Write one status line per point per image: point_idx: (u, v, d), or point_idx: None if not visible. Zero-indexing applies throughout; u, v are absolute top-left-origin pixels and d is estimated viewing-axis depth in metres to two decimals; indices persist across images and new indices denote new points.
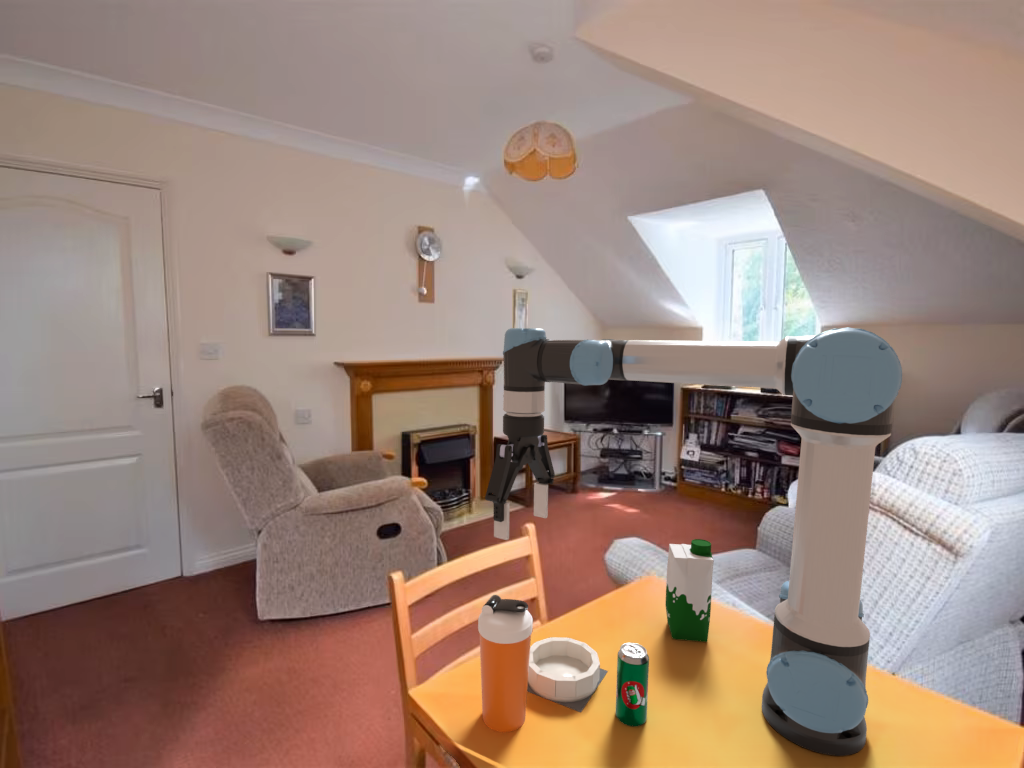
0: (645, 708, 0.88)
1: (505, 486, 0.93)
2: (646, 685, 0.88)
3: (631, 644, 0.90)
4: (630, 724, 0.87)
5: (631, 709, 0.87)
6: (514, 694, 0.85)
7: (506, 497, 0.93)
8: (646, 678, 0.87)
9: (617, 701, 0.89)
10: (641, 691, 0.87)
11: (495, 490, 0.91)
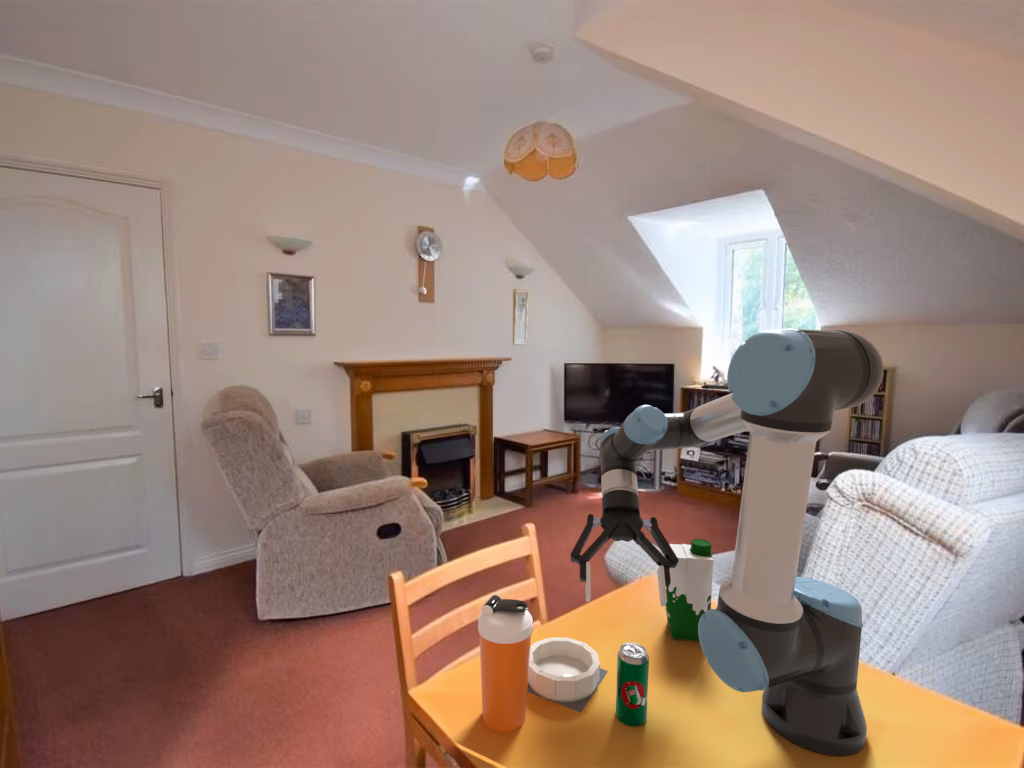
0: (645, 708, 0.88)
1: (588, 549, 1.05)
2: (646, 685, 0.88)
3: (631, 644, 0.90)
4: (630, 724, 0.87)
5: (631, 709, 0.87)
6: (514, 694, 0.85)
7: (586, 556, 1.03)
8: (646, 678, 0.87)
9: (617, 701, 0.89)
10: (641, 691, 0.87)
11: (573, 549, 1.05)
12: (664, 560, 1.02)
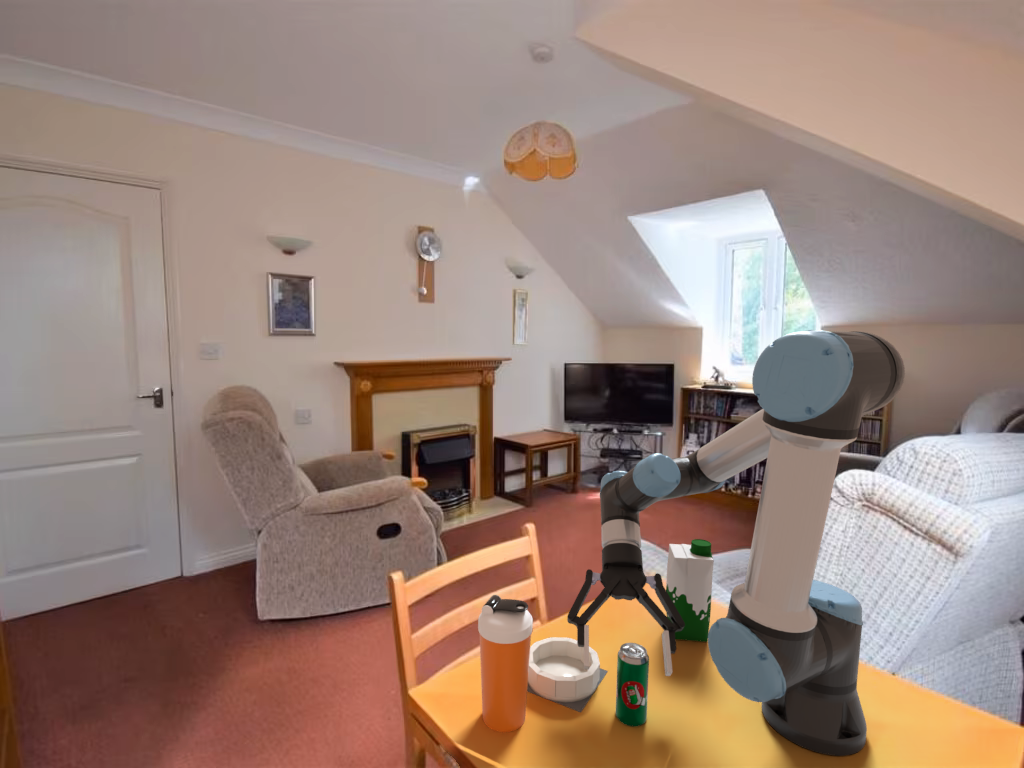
0: (645, 708, 0.88)
1: None
2: (646, 685, 0.88)
3: (631, 644, 0.90)
4: (630, 724, 0.87)
5: (631, 709, 0.87)
6: (514, 694, 0.85)
7: (584, 618, 0.95)
8: (646, 678, 0.87)
9: (617, 701, 0.89)
10: (641, 691, 0.87)
11: (571, 609, 0.97)
12: (669, 624, 0.94)
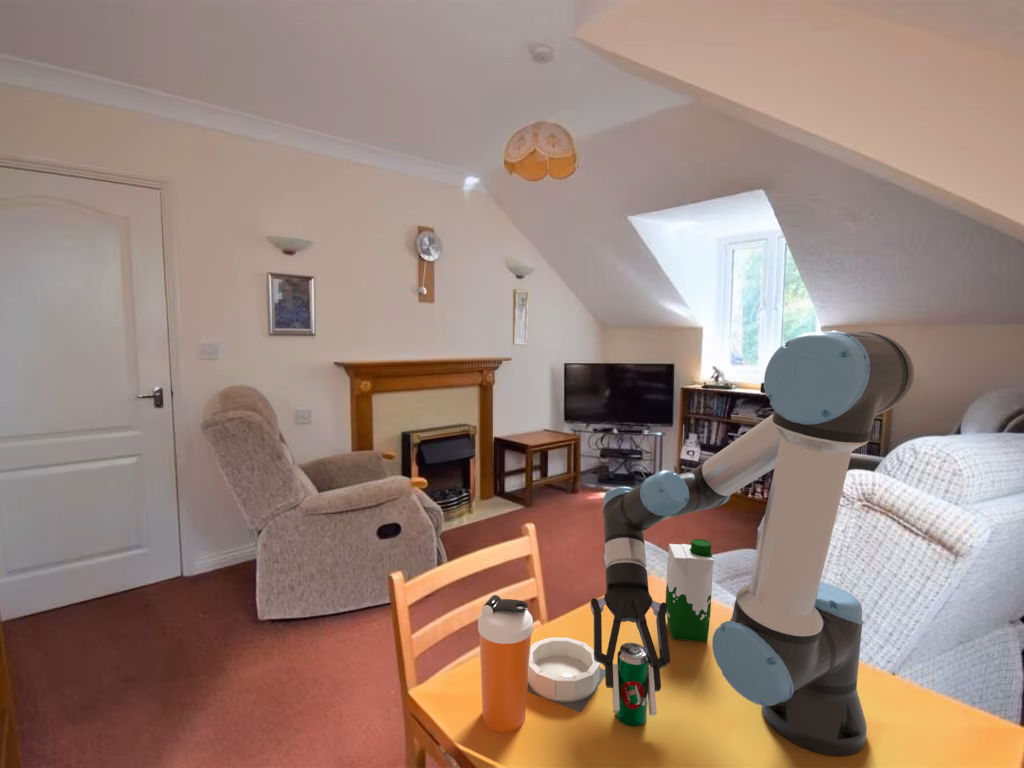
0: (645, 708, 0.88)
1: (608, 645, 0.92)
2: (646, 685, 0.88)
3: (631, 644, 0.90)
4: (630, 724, 0.87)
5: (631, 709, 0.87)
6: (514, 694, 0.85)
7: (611, 656, 0.90)
8: (646, 678, 0.87)
9: None
10: (641, 691, 0.87)
11: (594, 647, 0.92)
12: (655, 659, 0.89)
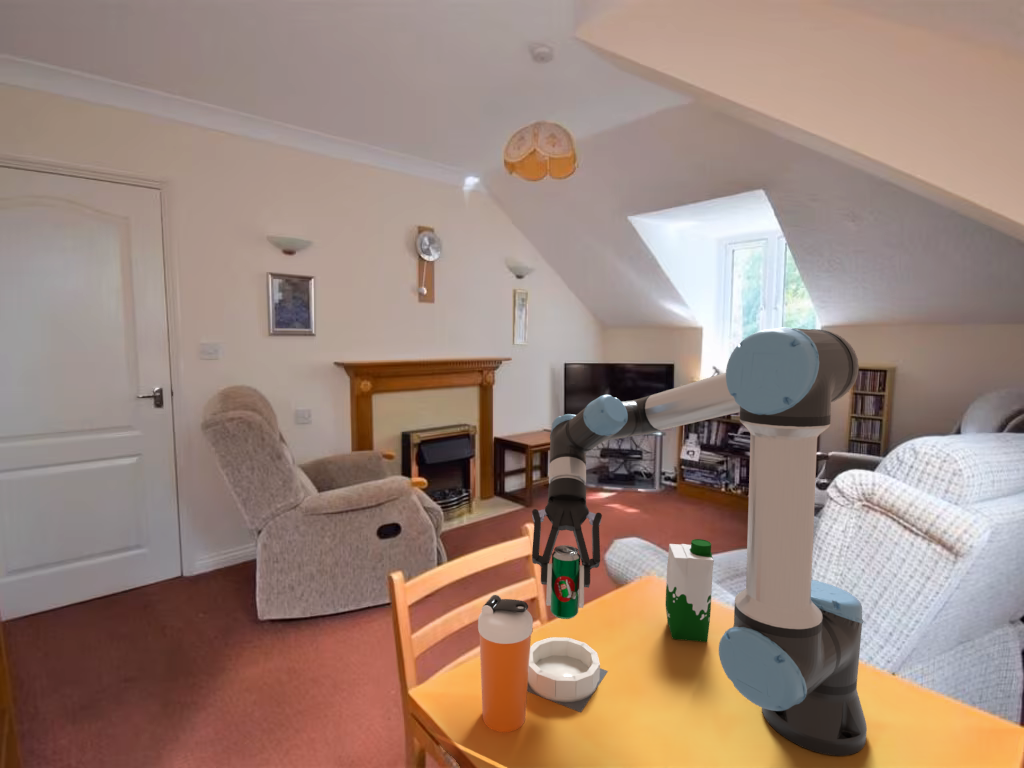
0: (576, 602, 0.96)
1: (545, 548, 1.00)
2: (577, 581, 0.96)
3: (565, 546, 0.99)
4: (562, 616, 0.96)
5: (563, 602, 0.95)
6: (514, 694, 0.85)
7: (546, 556, 0.98)
8: (577, 574, 0.96)
9: (551, 596, 0.97)
10: (571, 585, 0.95)
11: None
12: (586, 559, 0.98)
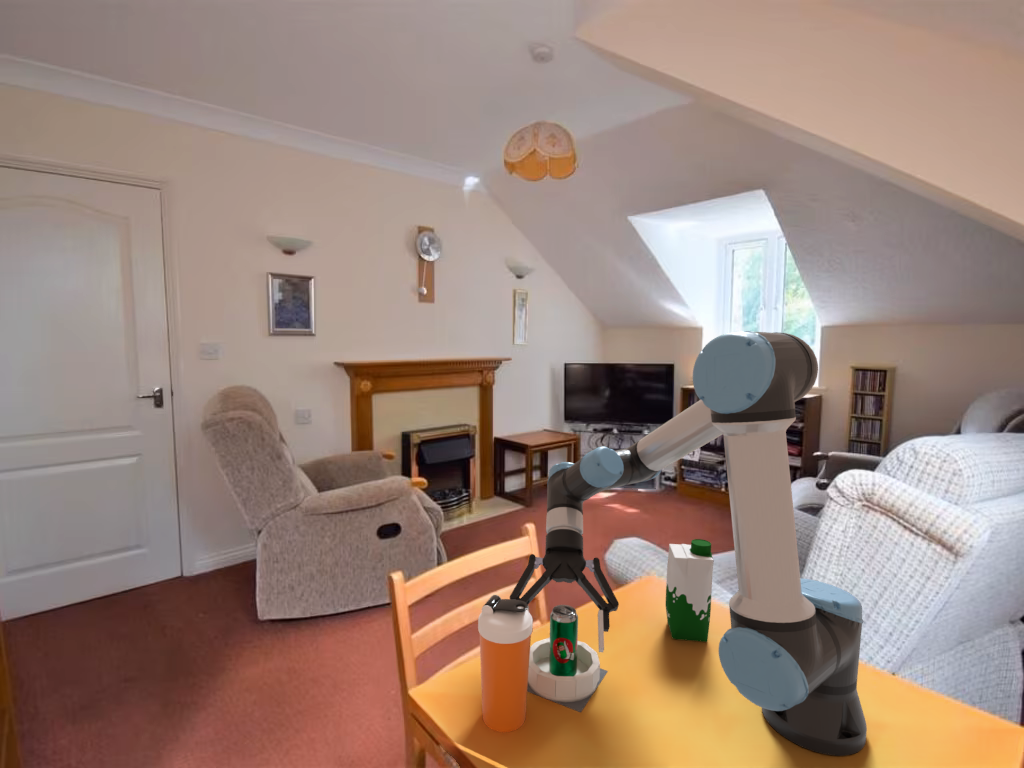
0: (574, 663, 0.97)
1: None
2: (575, 642, 0.97)
3: (563, 606, 1.00)
4: None
5: (561, 663, 0.97)
6: (514, 694, 0.85)
7: (525, 599, 1.01)
8: (575, 635, 0.97)
9: (550, 657, 0.98)
10: (570, 647, 0.96)
11: None
12: (604, 604, 1.00)
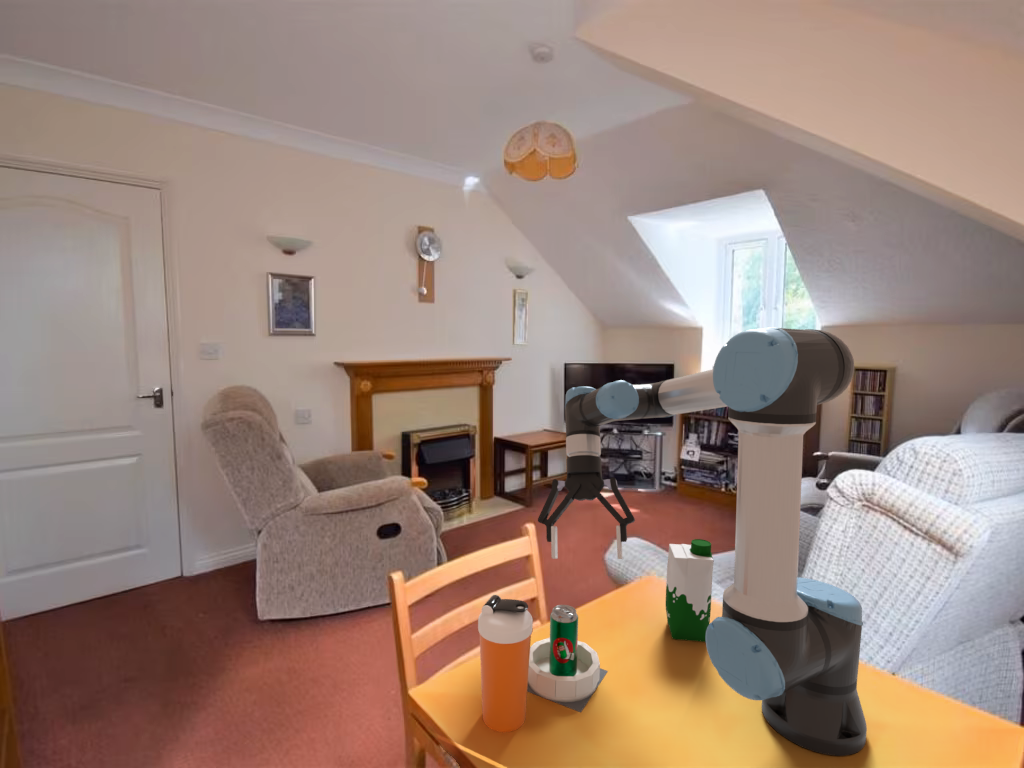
0: (574, 663, 0.97)
1: None
2: (575, 642, 0.97)
3: (563, 606, 1.00)
4: None
5: (561, 663, 0.97)
6: (514, 694, 0.85)
7: (551, 521, 1.15)
8: (575, 635, 0.97)
9: (550, 657, 0.98)
10: (570, 647, 0.96)
11: None
12: (621, 520, 1.11)
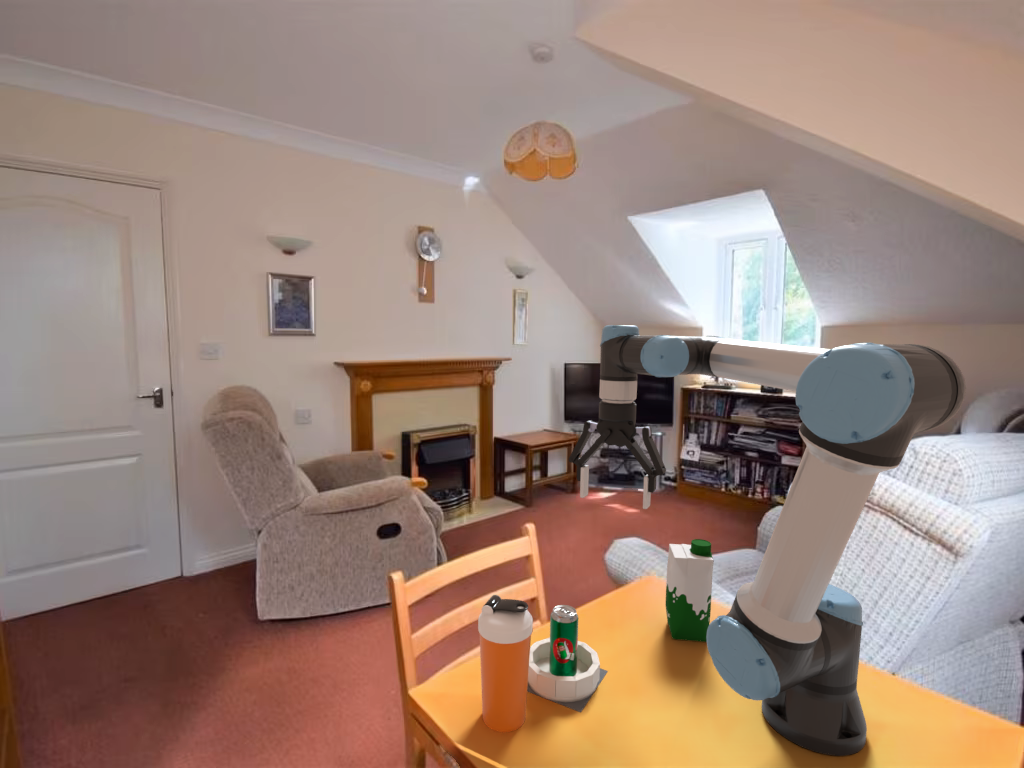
0: (574, 663, 0.97)
1: (584, 454, 1.15)
2: (575, 642, 0.97)
3: (563, 606, 1.00)
4: None
5: (561, 663, 0.97)
6: (514, 694, 0.85)
7: (581, 462, 1.15)
8: (575, 635, 0.97)
9: (550, 657, 0.98)
10: (570, 647, 0.96)
11: None
12: (649, 472, 1.07)
